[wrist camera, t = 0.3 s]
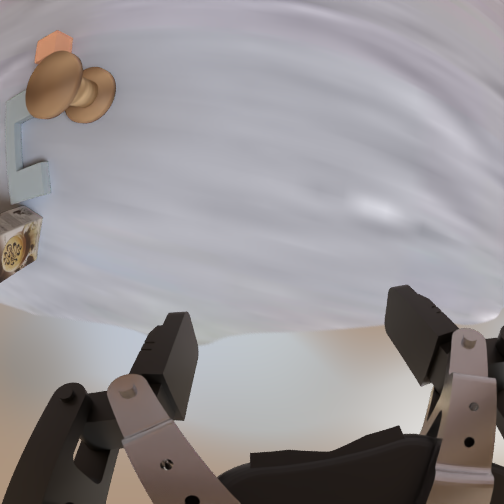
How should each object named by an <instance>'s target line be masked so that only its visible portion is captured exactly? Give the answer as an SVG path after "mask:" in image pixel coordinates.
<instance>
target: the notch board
mask: <svg viewBox="0 0 504 504" xmlns="http://www.w3.org/2000/svg"><path fill="white" fill-rule="evenodd" d="M25 96H26V90H24V91H23V92H21V93H19V94H18V95H16V96H15V97H13V98H11V99H10V100H8V101H7V102H6V116H5V148H6V166H7V177H8V187H9V195H10V202H11V205H13V204H16V203H19V202H22V201H25V200H29V199H32V198H36V197H39V196H43V195H46V194H50V193H51V187H50V178H49V169H48V161H47V162H40V163H37V164H35V165H32V166H29V167H27V168H24V169H23V161H22V143H21V124H22V123H24V122H26V121H27V120H29V119H31V118H33V116H32V115H31V114H30V113H29V112H28V110H27V107H26V101H25Z"/></svg>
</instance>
